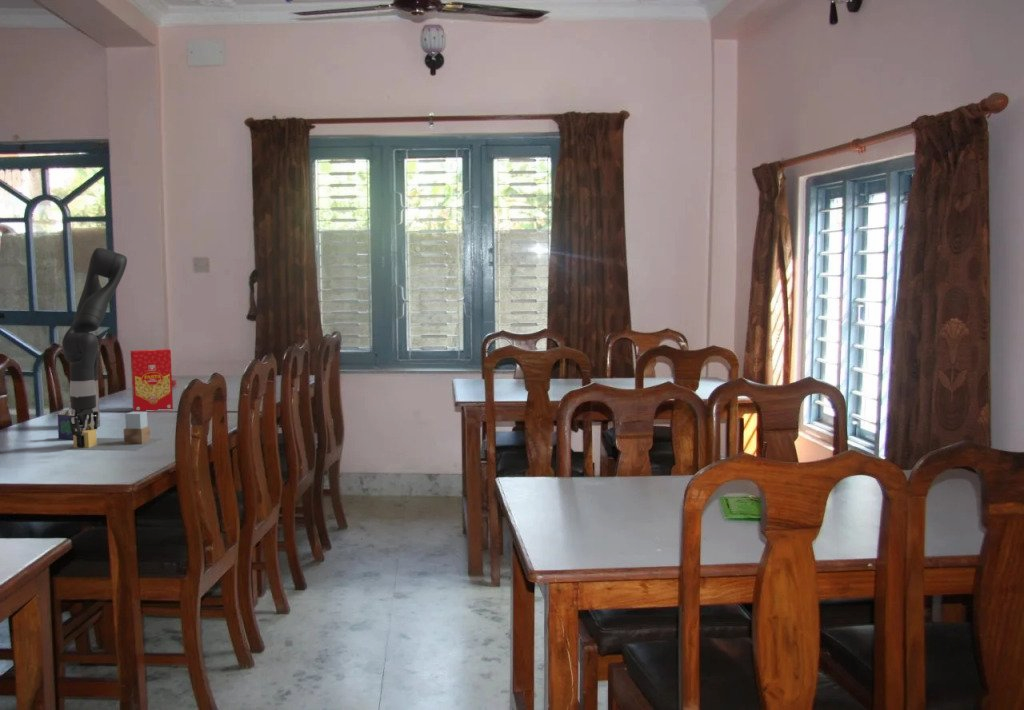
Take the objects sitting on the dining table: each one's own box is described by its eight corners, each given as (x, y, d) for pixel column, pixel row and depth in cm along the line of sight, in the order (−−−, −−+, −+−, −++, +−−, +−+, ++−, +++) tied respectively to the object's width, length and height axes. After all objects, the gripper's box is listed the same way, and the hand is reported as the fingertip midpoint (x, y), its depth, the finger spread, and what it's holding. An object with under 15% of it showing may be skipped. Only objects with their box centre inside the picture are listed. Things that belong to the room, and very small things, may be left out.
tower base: (124, 444, 289) (123, 429, 288) (133, 440, 295) (132, 425, 294) (142, 444, 289) (141, 429, 288) (150, 440, 295) (149, 426, 294)
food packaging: (134, 412, 356) (132, 351, 353) (133, 411, 360) (130, 350, 358) (173, 409, 363) (170, 350, 361) (170, 408, 368) (168, 349, 365)
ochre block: (73, 447, 283) (73, 432, 283) (82, 444, 288) (81, 429, 288) (88, 447, 283) (88, 432, 282) (96, 444, 288) (96, 429, 287)
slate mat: (63, 450, 280) (63, 449, 280) (96, 439, 300) (95, 437, 300) (136, 451, 279) (136, 450, 279) (164, 439, 298) (164, 438, 298)
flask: (84, 440, 298) (82, 409, 297) (77, 441, 295) (76, 410, 294) (62, 438, 301) (60, 408, 300) (55, 440, 298) (53, 409, 297)
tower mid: (125, 428, 289) (125, 413, 288) (133, 426, 294) (132, 411, 293) (140, 428, 289) (140, 414, 288) (147, 426, 294) (147, 411, 293)
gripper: (83, 390, 291) (86, 441, 293) (59, 396, 277) (61, 449, 279) (105, 391, 291) (107, 441, 292) (82, 397, 277) (84, 450, 278)
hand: (85, 445), depth 285 cm, fingers closed on ochre block, 5 cm apart
